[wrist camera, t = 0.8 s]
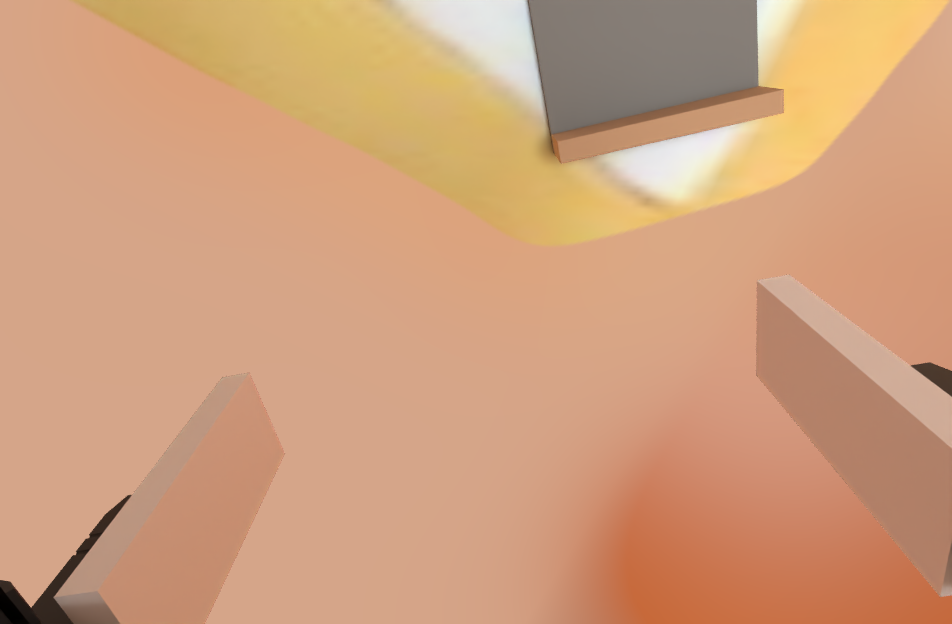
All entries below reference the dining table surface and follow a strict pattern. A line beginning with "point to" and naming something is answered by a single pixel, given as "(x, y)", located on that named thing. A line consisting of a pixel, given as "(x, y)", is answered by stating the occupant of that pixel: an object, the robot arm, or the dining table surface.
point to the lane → (646, 71)
